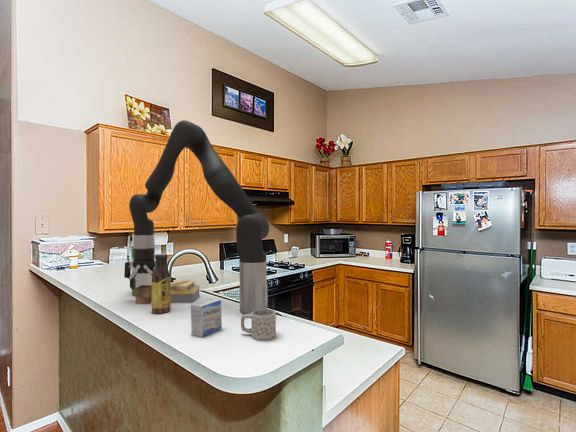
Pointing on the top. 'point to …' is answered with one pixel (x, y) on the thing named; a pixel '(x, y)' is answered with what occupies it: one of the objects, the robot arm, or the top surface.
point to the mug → (261, 324)
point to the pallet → (181, 285)
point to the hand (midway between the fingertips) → (144, 289)
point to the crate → (143, 294)
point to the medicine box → (206, 317)
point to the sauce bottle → (161, 285)
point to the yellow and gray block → (186, 294)
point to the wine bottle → (141, 277)
